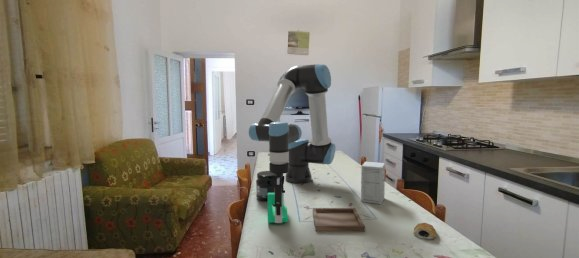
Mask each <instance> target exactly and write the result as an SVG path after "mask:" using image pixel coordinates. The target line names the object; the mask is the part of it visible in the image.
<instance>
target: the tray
mask: <svg viewBox="0 0 579 258" xmlns="http://www.w3.org/2000/svg"><path fill="white" fill-rule="evenodd" d="M312 219H313V224H314V230H315V231H314V232H332V233H333V232H334V233H335V232H340V233H341V232H355V233H356V232H365V230H366V227H365V224H364V222H363V220H362V219H361V216H360V215H359V213H358V211H357V209H356V208H355V207H312Z"/></svg>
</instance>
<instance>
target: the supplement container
mask: <svg viewBox="0 0 579 258" xmlns="http://www.w3.org/2000/svg"><path fill="white" fill-rule="evenodd" d="M274 176H276V174H273V173H271V172H270V171H269V170H263V171H260V172H259V171H258V172H257V174H256V178H257V179H256V181H255V183H256V184H255V185H256V186H255V187H256V192H255V193H256V194H255V195H256V199H257V200H258V201H261V202H268V193H275V188H274Z"/></svg>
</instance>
